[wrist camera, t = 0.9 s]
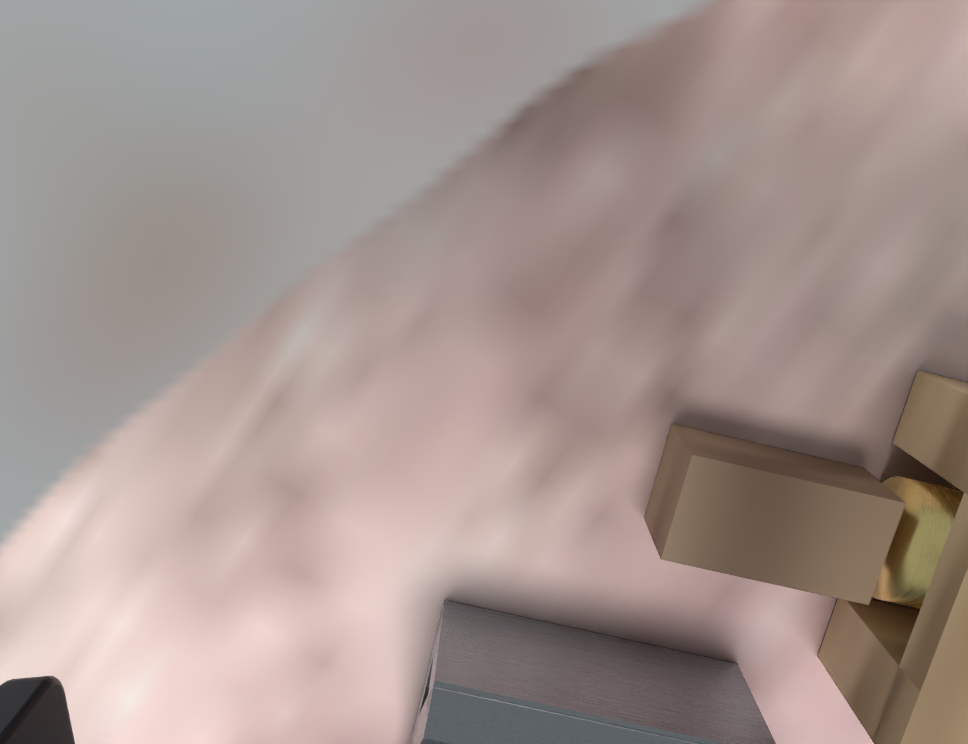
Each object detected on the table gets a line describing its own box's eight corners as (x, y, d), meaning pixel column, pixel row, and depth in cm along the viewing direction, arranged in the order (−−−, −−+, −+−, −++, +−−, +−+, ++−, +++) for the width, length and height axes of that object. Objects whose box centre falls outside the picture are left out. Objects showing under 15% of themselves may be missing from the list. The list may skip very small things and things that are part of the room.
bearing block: (1033, 397, 22) (1168, 455, 17) (925, 679, 24) (1023, 797, 19) (917, 370, 22) (1023, 422, 17) (817, 656, 23) (890, 768, 19)
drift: (859, 464, 22) (905, 502, 20) (828, 556, 23) (868, 605, 20) (670, 421, 22) (692, 454, 20) (643, 515, 23) (660, 559, 20)
